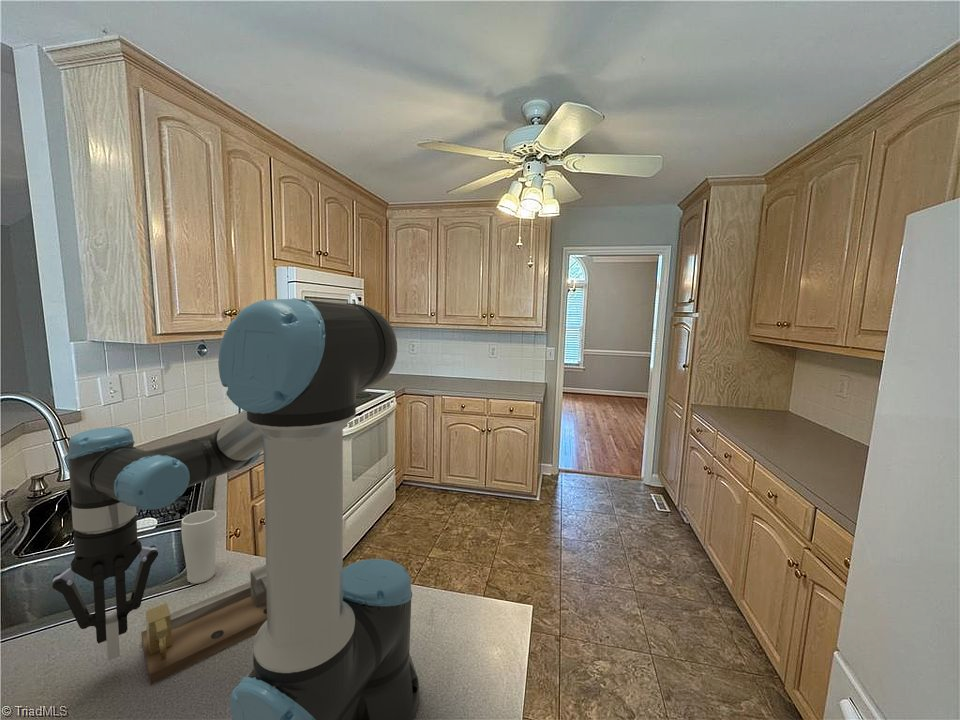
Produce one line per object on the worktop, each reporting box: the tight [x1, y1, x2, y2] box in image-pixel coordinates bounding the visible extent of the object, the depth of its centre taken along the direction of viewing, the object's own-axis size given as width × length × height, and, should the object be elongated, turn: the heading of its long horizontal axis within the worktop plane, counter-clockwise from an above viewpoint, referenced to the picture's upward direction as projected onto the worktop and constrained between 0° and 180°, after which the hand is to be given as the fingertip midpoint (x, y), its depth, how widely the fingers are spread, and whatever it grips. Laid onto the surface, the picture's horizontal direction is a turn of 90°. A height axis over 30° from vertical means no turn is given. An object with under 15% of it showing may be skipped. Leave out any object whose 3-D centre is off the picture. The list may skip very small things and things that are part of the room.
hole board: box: [140, 564, 267, 686], centre depth 78 cm, size 12×24×8 cm, turn 136°
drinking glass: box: [180, 509, 218, 585], centre depth 91 cm, size 7×7×15 cm
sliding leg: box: [145, 602, 172, 660], centre depth 70 cm, size 7×3×6 cm, turn 46°
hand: (113, 653), depth 67 cm, fingers closed
